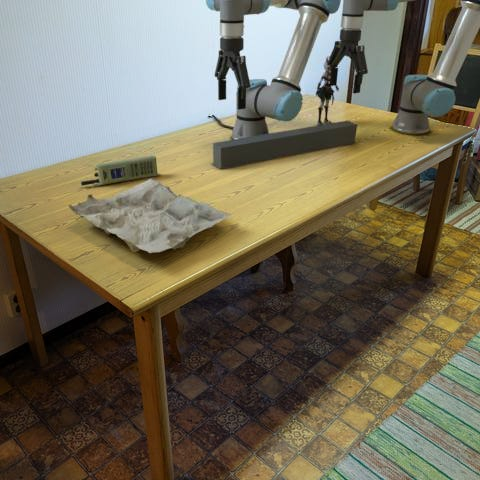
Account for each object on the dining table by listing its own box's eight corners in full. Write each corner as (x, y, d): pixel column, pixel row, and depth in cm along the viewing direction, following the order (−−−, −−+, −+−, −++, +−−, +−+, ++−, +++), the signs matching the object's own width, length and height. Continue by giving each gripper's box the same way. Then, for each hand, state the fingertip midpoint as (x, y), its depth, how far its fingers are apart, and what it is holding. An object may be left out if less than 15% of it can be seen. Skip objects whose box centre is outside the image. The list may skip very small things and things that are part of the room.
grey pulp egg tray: (148, 192, 160) (63, 221, 139) (147, 174, 157) (60, 201, 136) (236, 233, 139) (152, 274, 118) (238, 213, 136) (151, 251, 115)
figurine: (317, 128, 219) (323, 55, 204) (306, 125, 223) (312, 53, 208) (338, 122, 227) (346, 52, 213) (327, 119, 231) (334, 50, 217)
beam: (220, 169, 177) (220, 148, 173) (213, 163, 181) (212, 143, 177) (354, 143, 203) (357, 124, 199) (345, 138, 207) (347, 120, 204)
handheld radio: (158, 176, 170) (83, 189, 160) (155, 173, 172) (80, 186, 162) (156, 157, 167) (79, 169, 157) (153, 154, 169) (77, 166, 159)
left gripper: (262, 41, 153) (260, 111, 163) (223, 31, 172) (224, 94, 182) (240, 43, 149) (240, 114, 160) (204, 32, 168) (205, 97, 179)
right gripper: (383, 32, 174) (374, 95, 184) (337, 24, 193) (331, 81, 203) (366, 33, 171) (358, 97, 181) (321, 25, 189) (316, 83, 200)
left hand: (231, 104), depth 171 cm, fingers open, 13 cm apart
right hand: (344, 89), depth 192 cm, fingers open, 13 cm apart
